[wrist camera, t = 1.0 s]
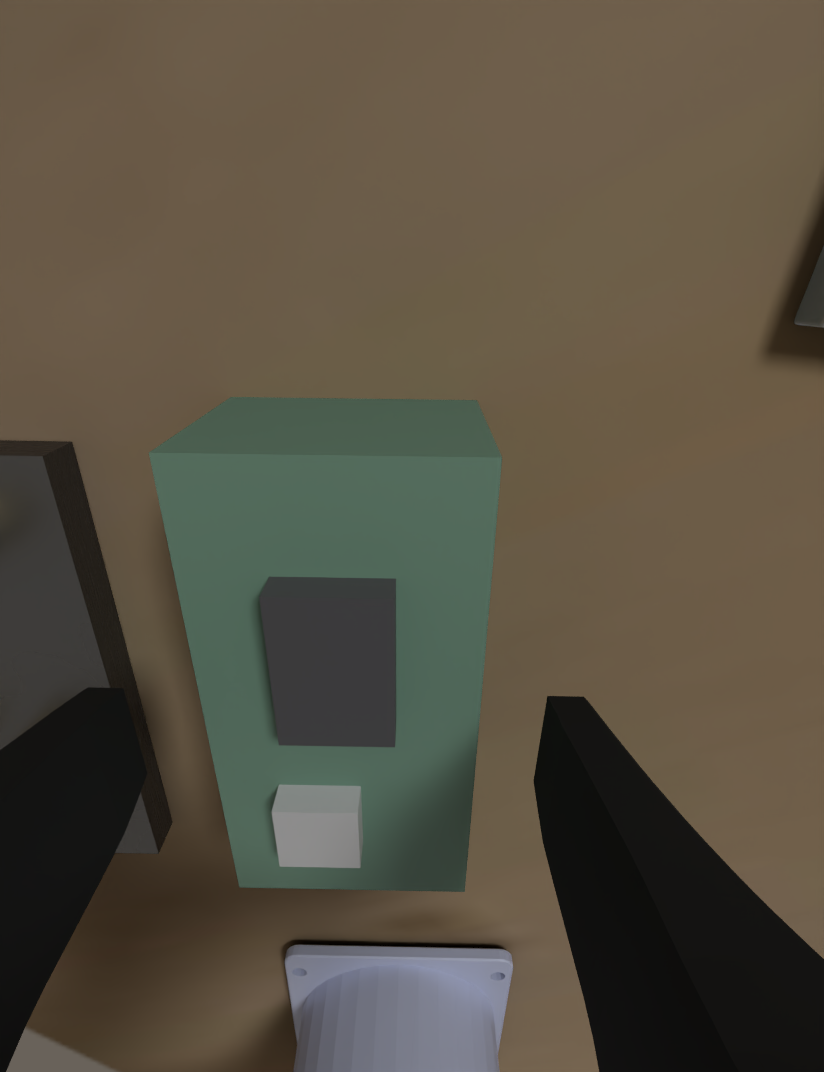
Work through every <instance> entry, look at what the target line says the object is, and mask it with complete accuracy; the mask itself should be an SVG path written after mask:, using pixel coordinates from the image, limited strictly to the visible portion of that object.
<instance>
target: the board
mask: <svg viewBox="0 0 824 1072" xmlns="http://www.w3.org/2000/svg"><path fill="white" fill-rule="evenodd" d="M149 456H150V461H151V465H152V470H153V475H154V480H155V485H156V489H157V494H158V499H159V504H160V509H161V513H162V518H163V523H164V528H165V533H166V537H167V542H168V547H169V552H170V557H171V561H172V566H173V571H174V576H175V581H176V585H177V590H178V595H179V600H180V605H181V609H182V614H183V619H184V624H185V629H186V633H187V638H188V643H189V648H190V653H191V657H192V662H193V667H194V672H195V677H196V681H197V686H198V691H199V696H200V701H201V705H202V710H203V715H204V720H205V725H206V729H207V734H208V739H209V744H210V749H211V753H212V758H213V763H214V768H215V773H216V777H217V782H218V787H219V792H220V797H221V801H222V806H223V811H224V816H225V821H226V825H227V830H228V835H229V840H230V845H231V850H232V854H233V859H234V864H235V869H236V874H237V878H238V883H239V887H243V888H295V889H347V890H400V891H452V892H465V881H466V870H467V858H468V847H469V835H470V823H471V812H472V800H473V789H474V777H475V765H476V754H477V742H478V730H479V719H480V707H481V696H482V684H483V672H484V661H485V649H486V637H487V626H488V614H489V603H490V591H491V579H492V568H493V556H494V545H495V533H496V521H497V510H498V498H499V486H500V475H501V463H502V457H501V454H500V452H499V450H498V447H497V445H496V443H495V441H494V438H493V436H492V434H491V431H490V429H489V427H488V425H487V422H486V420H485V418H484V416H483V413H482V411H481V409H480V406H479V404H478V402H477V400H414V399H336V398H258V397H231V398H229V399H228V400H226V401H225V402H223V403H222V404H220V405H219V406H217V407H216V408H214V409H213V410H211V411H210V412H208V413H207V414H205V415H204V416H202V417H201V418H200V419H198V420H197V421H195V422H194V423H192V424H191V425H189V426H188V427H186V428H185V429H183V430H182V431H180V432H179V433H177V434H176V435H174V436H173V437H171V438H170V439H168V440H167V441H166V442H164V443H163V444H161V445H160V446H158V447H157V448H155V449H154V450H152V451H151V452H149Z"/></svg>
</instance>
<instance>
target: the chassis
mask: <svg viewBox="0 0 824 1072" xmlns="http://www.w3.org/2000/svg"><path fill="white" fill-rule="evenodd" d="M87 687H97V688H123V689H124V692H125V696H126V699H127V703H128V706H129V710H130V713H131V717H132V720H133V724H134V727H135V731H136V734H137V738H138V742H139V745H140V749H141V752H142V756H143V759H144V763H145V766H146V770H147V776H146V779H145V781H144V784H143V787H142V790H141V792H140V795H139V798H138V801H137V803H136V806H135V809H134V811H133V814H132V816H131V819H130V821H129V824H128V826H127V829H126V831H125V834H124V836H123V838H122V840H121V842H120V844H119V846H118V848H117V850H116V852H115V853H147V854H159V852H160V849H161V847H162V845H163V843H164V840H165V838H166V836H167V834H168V831H169V829H170V827H171V825H172V819H171V815H170V811H169V807H168V804H167V800H166V796H165V792H164V788H163V785H162V781H161V777H160V773H159V770H158V766H157V762H156V758H155V754H154V751H153V747H152V743H151V739H150V735H149V732H148V728H147V724H146V720H145V717H144V713H143V709H142V705H141V701H140V698H139V694H138V690H137V686H136V683H135V679H134V675H133V671H132V667H131V664H130V660H129V656H128V652H127V648H126V645H125V641H124V637H123V633H122V630H121V626H120V622H119V618H118V614H117V611H116V607H115V603H114V599H113V596H112V592H111V588H110V584H109V580H108V577H107V573H106V569H105V565H104V562H103V558H102V554H101V550H100V546H99V543H98V539H97V535H96V531H95V527H94V524H93V520H92V516H91V512H90V509H89V505H88V501H87V497H86V493H85V490H84V486H83V482H82V478H81V475H80V471H79V467H78V463H77V459H76V456H75V452H74V448H73V444H72V442H56V441H1V440H0V750H1V749H2V748H4V747H5V746H6V745H8V744H9V743H10V742H12V741H13V740H15V739H16V738H17V737H19V736H20V735H21V734H23V733H24V732H25V731H27V730H28V729H30V728H31V727H32V726H34V725H35V724H36V723H38V722H39V721H40V720H42V719H43V718H45V717H46V716H47V715H49V714H50V713H51V712H53V711H54V710H56V709H57V708H58V707H60V706H61V705H63V704H64V703H65V702H67V701H68V700H70V699H71V698H73V697H74V696H76V695H77V694H78V693H80V692H81V691H83V690H84V689H86V688H87Z"/></svg>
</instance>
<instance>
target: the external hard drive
mask: <svg viewBox="0 0 824 1072" xmlns="http://www.w3.org/2000/svg"><path fill="white" fill-rule="evenodd" d="M794 323H795V324H796V325H803V326H812V327H822V328H824V246H823V249H822V251H821V254H820V256H819V259H818V262H817V264H816V267H815V269H814V272H813V274H812V277H811V279H810V282H809V284H808V287H807V289H806V292H805V294H804V297H803V299H802V302H801V304H800V307H799V309H798V312H797V314H796V317H795V320H794Z"/></svg>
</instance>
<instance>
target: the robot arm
mask: <svg viewBox="0 0 824 1072" xmlns="http://www.w3.org/2000/svg"><path fill="white" fill-rule="evenodd" d="M146 776H147V770H146V766H145V763H144V759H143V756H142V752H141V749H140V745H139V742H138V738H137V734H136V731H135V727H134V724H133V720H132V717H131V713H130V710H129V706H128V703H127V699H126V696H125V692H124V689H123V688H97V687H87V688H86V689H84V690H83V691H81V692H80V693H78V694H77V695H76V696H74V697H73V698H71V699H70V700H68V701H67V702H65V703H64V704H63V705H61V706H60V707H58V708H57V709H56V710H54V711H53V712H51V713H50V714H49V715H47V716H46V717H45V718H43V719H42V720H40V721H39V722H38V723H36V724H35V725H34V726H32V727H31V728H30V729H28V730H27V731H25V732H24V733H23V734H21V735H20V736H19V737H17V738H16V739H15V740H13V741H12V742H10V743H9V744H8V745H6V746H5V747H4V748H2V749H1V750H0V1072H6V1070H7V1068H8V1066H9V1063H10V1061H11V1058H12V1056H13V1054H14V1051H15V1049H16V1047H17V1045H18V1042H19V1040H20V1038H21V1035H22V1033H23V1031H24V1028H25V1026H26V1024H27V1022H28V1020H29V1018H30V1016H31V1014H32V1012H33V1010H34V1008H35V1006H36V1004H37V1001H38V999H39V997H40V995H41V993H42V991H43V989H44V987H45V985H46V983H47V981H48V980H49V978H50V976H51V974H52V972H53V970H54V968H55V966H56V964H57V962H58V961H59V959H60V957H61V955H62V953H63V951H64V949H65V947H66V945H67V943H68V942H69V940H70V938H71V936H72V934H73V932H74V930H75V928H76V926H77V924H78V923H79V921H80V919H81V917H82V915H83V913H84V911H85V909H86V907H87V905H88V904H89V902H90V900H91V898H92V896H93V894H94V892H95V890H96V888H97V886H98V885H99V883H100V881H101V879H102V877H103V875H104V873H105V871H106V869H107V867H108V865H109V863H110V861H111V859H112V857H113V855H114V854H115V852H116V850H117V848H118V846H119V844H120V842H121V840H122V838H123V836H124V834H125V831H126V829H127V826H128V824H129V821H130V819H131V816H132V814H133V811H134V809H135V806H136V803H137V801H138V798H139V795H140V792H141V790H142V787H143V784H144V781H145V779H146ZM534 786H535V793H536V800H537V807H538V814H539V820H540V826H541V832H542V839H543V844H544V848H545V852H546V856H547V860H548V864H549V868H550V871H551V875H552V879H553V883H554V887H555V891H556V895H557V898H558V902H559V906H560V910H561V913H562V917H563V921H564V925H565V929H566V932H567V936H568V940H569V944H570V947H571V951H572V955H573V959H574V963H575V966H576V970H577V974H578V978H579V981H580V985H581V989H582V993H583V996H584V1000H585V1005H586V1009H587V1013H588V1018H589V1022H590V1027H591V1031H592V1035H593V1040H594V1045H595V1051H596V1056H597V1061H598V1067H599V1072H824V959H823V958H822V957H821V956H820V955H819V954H818V953H817V952H815V951H814V950H813V949H812V948H811V947H810V946H809V945H808V944H807V943H806V942H805V941H804V940H803V939H802V938H801V937H800V936H798V935H797V934H796V933H795V932H794V931H793V930H792V929H791V928H790V927H789V926H788V925H787V924H786V923H785V922H784V921H783V920H782V919H781V918H780V917H779V916H778V915H776V914H775V913H774V912H773V911H772V910H771V909H770V908H769V907H768V906H767V905H766V904H765V903H764V902H763V901H762V900H761V899H760V898H759V897H758V896H757V895H756V894H755V893H754V892H753V891H752V890H751V889H750V888H749V887H748V886H747V885H746V884H745V883H744V882H743V881H742V880H741V879H740V878H739V876H738V875H737V874H736V873H735V872H734V871H733V870H732V869H731V868H730V867H729V866H728V865H727V864H726V863H725V862H724V861H723V860H722V859H721V858H720V856H719V855H718V854H717V853H716V852H715V851H714V850H713V849H712V848H711V847H710V846H709V845H708V844H707V843H706V842H705V841H704V839H703V838H702V837H701V836H700V835H699V834H698V833H697V832H696V831H695V830H694V828H693V827H692V826H691V825H690V824H689V823H688V822H687V821H686V820H685V818H684V817H683V816H682V815H681V814H680V813H679V812H678V810H677V809H676V808H675V807H674V806H673V805H672V803H671V802H670V801H669V800H668V799H667V798H666V797H665V795H664V794H663V793H662V792H661V791H660V790H659V788H658V787H657V786H656V785H655V784H654V783H653V782H652V780H651V779H650V778H649V777H648V776H647V774H646V773H645V772H644V771H643V770H642V768H641V767H640V766H639V765H638V764H637V762H636V761H635V760H634V759H633V757H632V756H631V755H630V754H629V752H628V751H627V750H626V749H625V747H624V746H623V745H622V744H621V743H620V741H619V740H618V739H617V737H616V736H615V735H614V734H613V732H612V731H611V730H610V729H609V727H608V726H607V725H606V724H605V722H604V721H603V720H602V718H601V717H600V716H599V715H598V713H597V712H596V711H595V710H594V708H593V707H592V706H591V704H590V703H589V702H588V701H587V700H586V699H585V698H584V697H566V696H548V697H547V703H546V709H545V715H544V721H543V727H542V733H541V739H540V745H539V751H538V757H537V764H536V770H535V776H534ZM285 969H286V975H287V982H288V988H289V995H290V1001H291V1007H292V1014H293V1020H294V1027H295V1033H296V1039H297V1051H296V1057H295V1064H294V1070H293V1072H499V1063H498V1050H499V1045H500V1039H501V1033H502V1028H503V1022H504V1016H505V1010H506V1005H507V999H508V993H509V988H510V982H511V976H512V970H513V963H512V956H511V954H510V953H509V952H508V951H506V950H504V949H497V948H448V947H400V946H352V945H303V944H299V945H293V946H291V947H290V948H288V949H287V952H286V957H285Z"/></svg>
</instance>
